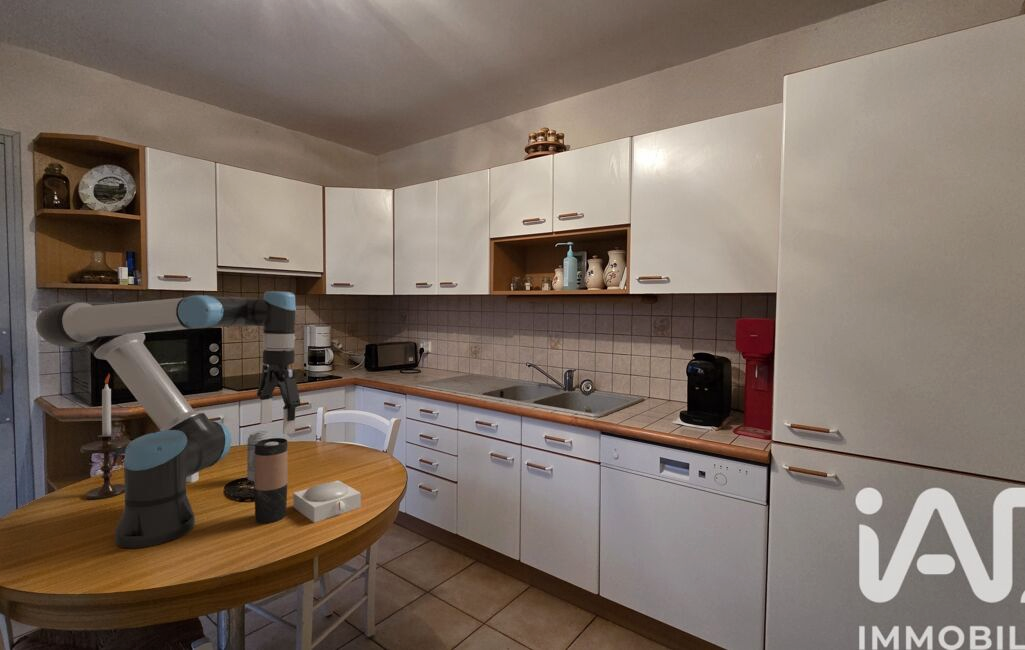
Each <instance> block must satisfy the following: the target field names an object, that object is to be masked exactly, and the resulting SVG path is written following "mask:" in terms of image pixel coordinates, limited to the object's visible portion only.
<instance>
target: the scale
mask: <svg viewBox="0 0 1025 650" xmlns="http://www.w3.org/2000/svg"><path fill="white" fill-rule="evenodd" d="M292 494H293V495H292V496H293V497H292V498H293V499H292V501H293V502H292V503H293V504H292V505H293V506H292V508H294V509H295V510H296V511H298V513H300V514H302V515H303V516H305V517H306V518H307V519H308V520H310V521H311V522H313V523H314V524H315V523H318V522H321V521H323V520H327V519H329V518H332V517H336V516H339V515H342V514H344V513H347V512H350V511H353V510H356V509H360V508H362V493H361V492H360V491H359V490H356V489H354V488H353V487H351V486H349V485H347V484H345V483H344V482H342V481H340V480H335V481H330V482H324V483H319V484H315V485H313V486H311V487H309V488H305V489H302V490H299V491H295V492H293V493H292Z"/></svg>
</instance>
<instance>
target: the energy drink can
mask: <svg viewBox="0 0 1025 650" xmlns="http://www.w3.org/2000/svg"><path fill="white" fill-rule="evenodd" d="M264 439H270V436H269V435H268V431H265V430H259V431H253V432H249V436H248V438H247V440H246V441H247V445H246V446H247V449H246V450H247V456H246V457H247V461H246V463H247V468H246V469H247V470H246V473H247V475H246V476H247V479H246V480H248V481H249V480H250V481H254V478H255V444H257V443H258V441H261V440H264ZM250 481H249V482H250Z"/></svg>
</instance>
